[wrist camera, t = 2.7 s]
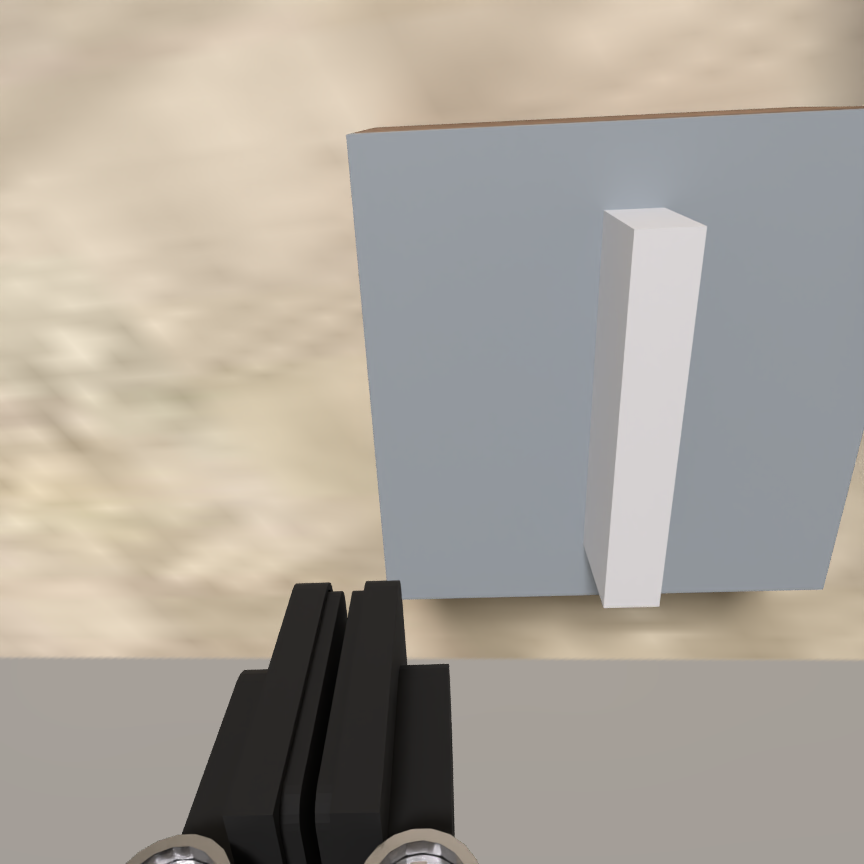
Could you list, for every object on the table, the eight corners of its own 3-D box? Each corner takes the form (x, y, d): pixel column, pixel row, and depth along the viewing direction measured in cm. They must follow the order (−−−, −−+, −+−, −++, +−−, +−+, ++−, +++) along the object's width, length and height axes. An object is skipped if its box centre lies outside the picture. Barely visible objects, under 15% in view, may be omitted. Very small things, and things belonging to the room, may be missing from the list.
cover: (351, 133, 17) (326, 139, 13) (918, 105, 17) (1050, 104, 13) (390, 580, 23) (380, 667, 19) (807, 570, 23) (877, 657, 19)
